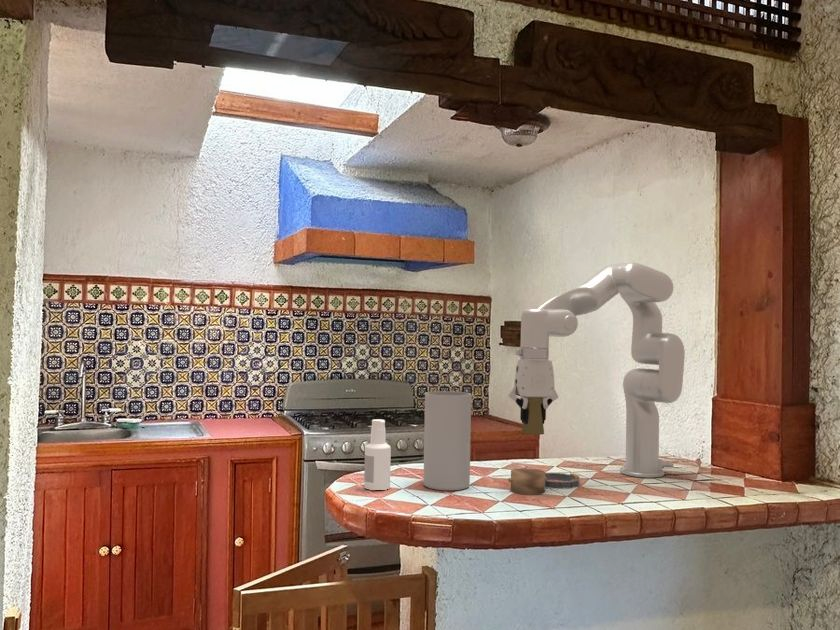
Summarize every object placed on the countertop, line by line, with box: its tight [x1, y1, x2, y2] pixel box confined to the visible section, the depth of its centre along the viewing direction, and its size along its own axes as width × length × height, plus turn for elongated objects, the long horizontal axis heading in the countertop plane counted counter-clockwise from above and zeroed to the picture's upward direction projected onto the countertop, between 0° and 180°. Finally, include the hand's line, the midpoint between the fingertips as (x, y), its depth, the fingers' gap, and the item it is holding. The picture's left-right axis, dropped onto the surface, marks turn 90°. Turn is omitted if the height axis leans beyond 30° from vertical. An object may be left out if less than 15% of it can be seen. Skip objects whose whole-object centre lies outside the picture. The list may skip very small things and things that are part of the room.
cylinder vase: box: [422, 390, 472, 492], centre depth 186 cm, size 12×12×25 cm
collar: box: [545, 472, 580, 489], centre depth 192 cm, size 12×12×2 cm
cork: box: [521, 397, 545, 436], centre depth 184 cm, size 6×6×11 cm
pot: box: [507, 467, 548, 496], centre depth 182 cm, size 11×9×5 cm
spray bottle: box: [363, 418, 392, 491], centre depth 182 cm, size 7×7×18 cm
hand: (532, 422), depth 184 cm, fingers closed on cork, 3 cm apart
